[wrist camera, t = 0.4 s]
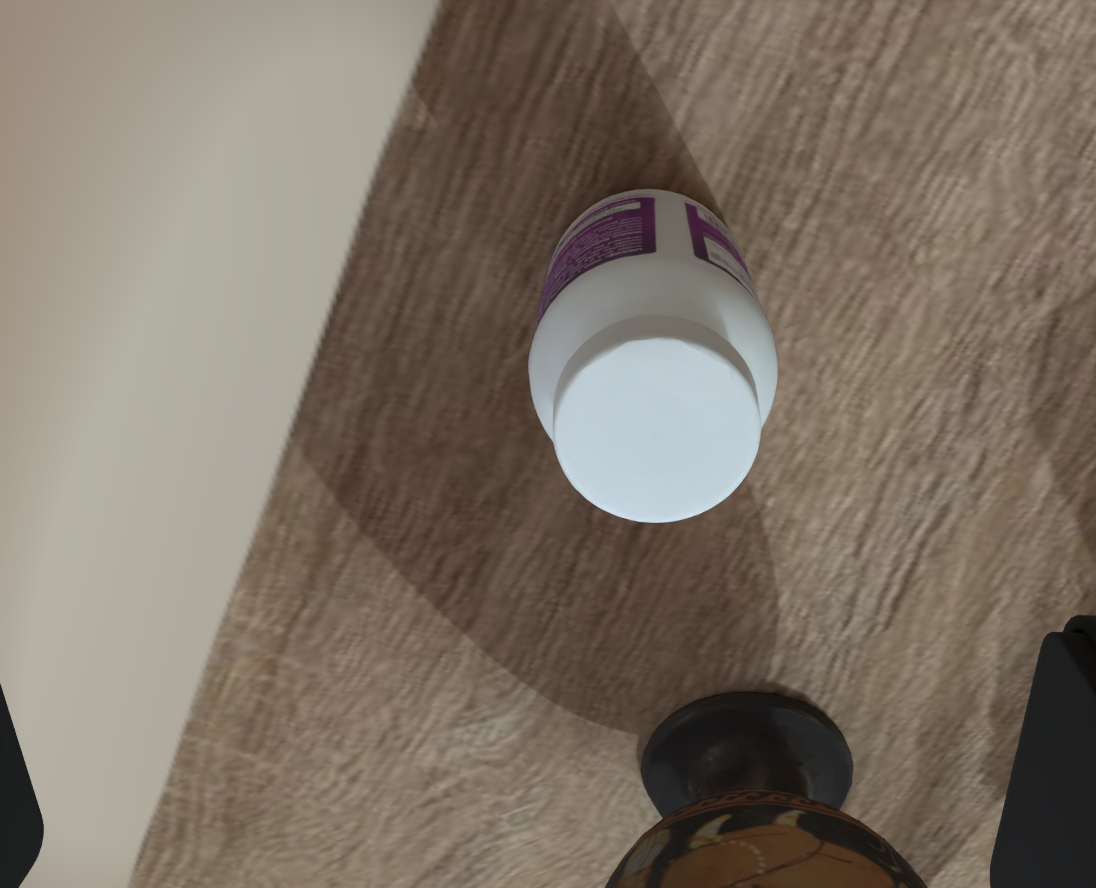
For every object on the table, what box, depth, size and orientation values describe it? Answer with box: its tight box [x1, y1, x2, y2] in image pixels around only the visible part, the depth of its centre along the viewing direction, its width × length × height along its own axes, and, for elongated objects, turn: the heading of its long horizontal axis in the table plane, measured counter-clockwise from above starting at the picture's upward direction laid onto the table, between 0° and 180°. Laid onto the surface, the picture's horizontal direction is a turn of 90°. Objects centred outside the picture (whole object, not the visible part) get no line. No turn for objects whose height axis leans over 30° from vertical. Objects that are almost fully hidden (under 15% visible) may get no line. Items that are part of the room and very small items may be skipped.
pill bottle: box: [528, 189, 777, 523], centre depth 24 cm, size 5×5×10 cm
